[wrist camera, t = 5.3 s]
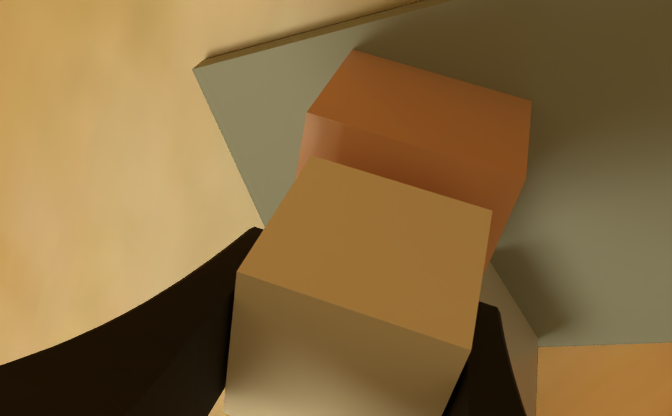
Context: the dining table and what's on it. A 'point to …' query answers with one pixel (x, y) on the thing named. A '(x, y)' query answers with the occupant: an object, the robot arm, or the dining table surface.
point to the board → (543, 151)
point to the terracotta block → (423, 133)
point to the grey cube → (514, 337)
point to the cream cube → (356, 299)
